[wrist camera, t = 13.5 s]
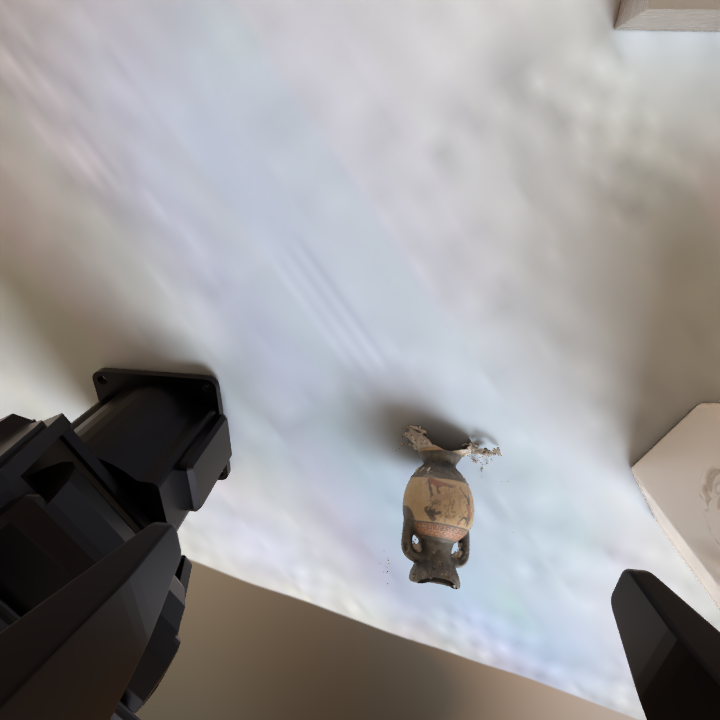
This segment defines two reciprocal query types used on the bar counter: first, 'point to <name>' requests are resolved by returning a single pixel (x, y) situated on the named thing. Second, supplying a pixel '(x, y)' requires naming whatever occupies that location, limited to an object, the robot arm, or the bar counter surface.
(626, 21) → the square frame
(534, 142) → the bar counter surface
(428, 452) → the vase
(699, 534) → the jar
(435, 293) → the bar counter surface
